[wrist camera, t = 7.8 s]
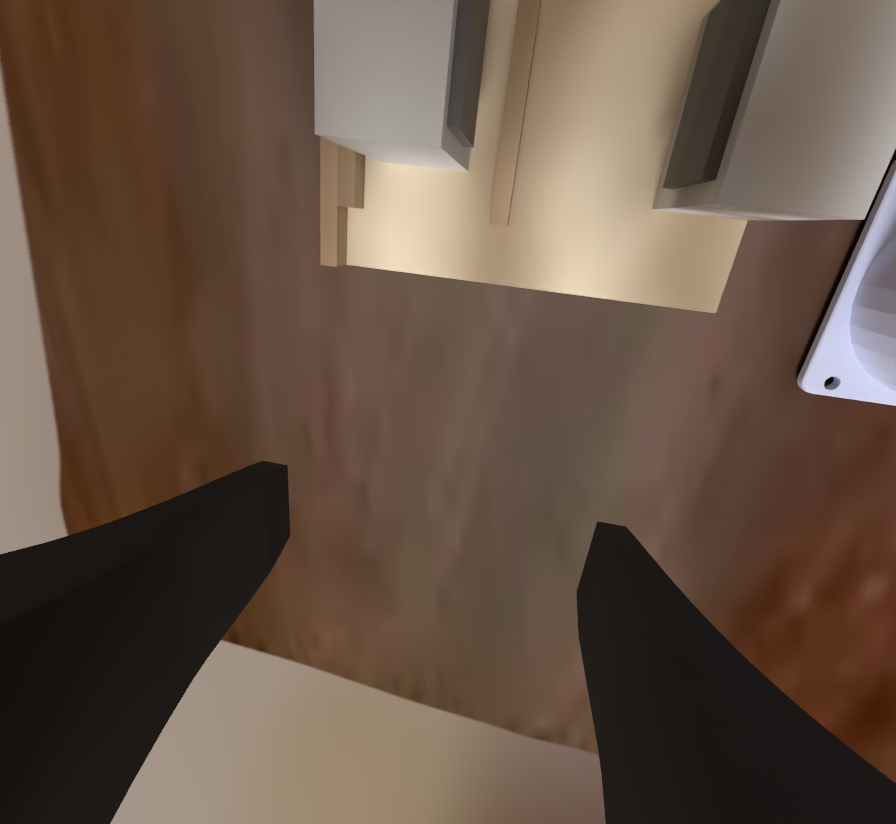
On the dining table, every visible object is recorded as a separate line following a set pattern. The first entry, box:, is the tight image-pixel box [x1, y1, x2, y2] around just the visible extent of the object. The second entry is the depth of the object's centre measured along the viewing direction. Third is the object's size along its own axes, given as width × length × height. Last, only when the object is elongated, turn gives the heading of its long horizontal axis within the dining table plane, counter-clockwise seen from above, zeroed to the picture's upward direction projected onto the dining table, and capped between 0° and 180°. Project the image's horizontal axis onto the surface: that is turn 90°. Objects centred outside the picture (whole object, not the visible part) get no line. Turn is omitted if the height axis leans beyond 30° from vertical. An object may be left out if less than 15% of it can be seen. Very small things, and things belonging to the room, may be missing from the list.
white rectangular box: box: [314, 0, 490, 172], centre depth 12 cm, size 3×5×6 cm, turn 173°
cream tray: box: [320, 0, 896, 313], centre depth 12 cm, size 14×11×7 cm
